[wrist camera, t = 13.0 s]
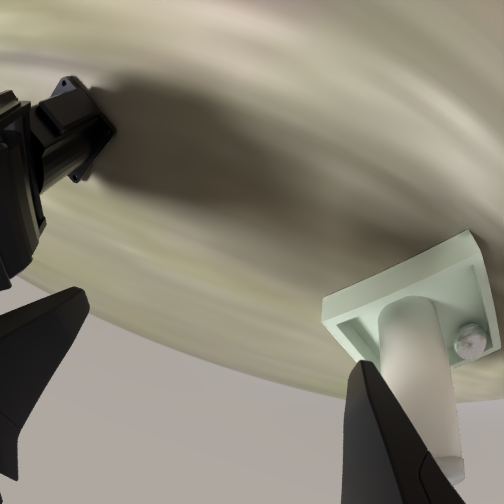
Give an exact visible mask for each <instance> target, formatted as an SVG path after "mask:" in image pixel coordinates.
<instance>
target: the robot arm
mask: <svg viewBox="0 0 504 504" xmlns="http://www.w3.org/2000/svg"><path fill="white" fill-rule="evenodd" d="M65 81H66V83H67V84H65ZM108 130H109V131H110V134H109V133H108ZM115 135H116V129H115V127H114V126H113V125H112V123H111V122H110V121H109V120H108V119H107V118H106V117H105V116H104V115H103V113H102V112H101V111H100V110H99V108H98V107H97V106H96V105H95V104H94V103H93V102H92V100H91V99H90V98H89V97H88V96H87V95H86V94H85V93H84V91H83V90H82V89H81V88H80V87H79V86H78V85H77V84H76V83H75V82H74V81H73V79H72V78H71V77H69V76H66V77H63V78H61V80H60V81H59V83H58V85H57V86H56V88H55V90H54V91H53V93H52V95H51V97H50V98H48V99H45V100H43V101H40V102H39V104H36V105H34V106H32V107H31V101H18V98H16V96H15V95H14V93H13V91H12V90H6V91H4V92H1V93H0V291H2V290H6V289H9V288H11V286H12V285H11V282H10V279H12V278H13V277H15V276H16V275H18V274H19V273H20V272H22V271H23V270H24V269H25V268H26V267H27V266H28V265H29V264H30V263H31V262H32V260H33V258H32V255H33V253H34V251H35V249H36V247H37V245H38V243H39V237H40V236H41V234H42V232H43V230H44V228H45V226H46V224H47V223H46V219H45V217H44V215H43V210H42V205H41V200H40V195H41V194H42V193H43V192H45V191H46V190H47V189H49V188H50V187H51V186H53V185H54V184H55V183H57V182H58V181H60V180H61V179H62V178H64V177H65V176H68V177H69V178H70V179H71V180H72V181H73V182H74V183H78V182H79V181H81V180H82V178H83V177H84V176H85V174H86V173H87V172H88V170H89V169H90V167H91V166H92V165H93V163H94V162H95V161H96V159H97V158H98V157H99V156H100V154H101V153H102V152H103V150H104V149H105V148H106V147H107V145H108V144H109V143H110V142H111V140H112V139H113V138H114V137H115ZM76 176H77V177H76ZM89 309H90V305H89V302H88V299H87V296H86V294H85V291H84V290H83V289H81V288H78V287H71V288H68V289H65V290H63V291H60V292H58V293H55V294H53V295H50V296H47V297H45V298H42V299H40V300H37V301H35V302H32V303H30V304H27V305H25V306H22V307H20V308H17V309H15V310H12V311H10V312H7V313H5V314H2V315H0V473H1V474H3V475H5V476H7V477H9V478H11V479H13V480H15V481H18V457H17V456H18V453H17V452H18V449H17V443H18V437H19V434H20V431H21V429H22V428H23V426H24V424H25V422H26V420H27V418H28V417H29V415H30V413H31V411H32V410H33V408H34V406H35V404H36V402H37V401H38V399H39V397H40V395H41V394H42V392H43V390H44V389H45V387H46V386H47V384H48V382H49V381H50V379H51V377H52V376H53V374H54V372H55V371H56V369H57V368H58V366H59V364H60V363H61V361H62V360H63V358H64V357H65V355H66V353H67V352H68V350H69V349H70V347H71V345H72V344H73V342H74V340H75V338H76V336H77V334H78V332H79V330H80V328H81V326H82V324H83V323H84V321H85V319H86V317H87V315H88V313H89ZM343 427H344V428H343V429H344V430H343V433H344V436H343V438H344V439H343V474H342V495H341V504H466V503H465V502H464V501H463V500H462V498H461V497H460V495H459V494H458V493H457V491H456V490H455V489H454V487H453V486H452V485H451V483H450V482H449V480H448V479H447V477H446V476H445V475H444V473H443V472H442V470H441V469H440V467H439V465H438V464H437V462H436V461H435V459H434V457H433V456H432V454H431V453H430V451H428V448H427V447H426V445H425V443H424V442H423V440H422V438H421V437H420V435H419V434H418V432H417V430H416V429H415V427H414V426H413V424H412V422H411V421H410V419H409V418H408V416H407V414H406V413H405V411H404V410H403V408H402V406H401V405H400V403H399V402H398V400H397V399H396V397H395V395H394V394H393V392H392V391H391V389H390V388H389V386H388V385H387V383H386V381H385V380H384V378H383V377H382V375H381V374H380V372H379V371H378V369H377V368H376V366H375V365H374V363H373V362H372V361H368V360H359V361H358V363H357V364H356V366H355V367H354V369H353V370H352V372H351V373H350V375H349V379H348V387H347V396H346V405H345V413H344V426H343ZM2 502H3V500H2V497H1V494H0V504H2Z"/></svg>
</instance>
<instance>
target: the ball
mask: <svg viewBox="0 0 504 504" xmlns="http://www.w3.org/2000/svg"><path fill="white" fill-rule="evenodd" d="M486 343H487V336H486V333H485V331H484V329H483V328H482V327H481V326H480V325H478V324H475V323H468V324H465V325H463V326H462V327H461V328H460V329H459V330H458V331H457V333H456V335H455V338H454V349H455V351H456V353H457V354H458V356H460V357H461V358H463V359H466V360H471V359H475V358H477V357H478V356H480V355H481V354H482V352H483V351H484V349H485V347H486Z"/></svg>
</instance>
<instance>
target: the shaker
mask: <svg viewBox="0 0 504 504" xmlns="http://www.w3.org/2000/svg"><path fill="white" fill-rule="evenodd" d="M377 322H378V334H379V348H380V365H381V375H382V377H383V378H384V380H385V381H386V383H387V385H388V386H389V388H390V389H391V391H392V392H393V394H394V395H395V397H396V399H397V400H398V402H399V403H400V405H401V406H402V408H403V410H404V411H405V413H406V414H407V416H408V418H409V419H410V421H411V422H412V424H413V426H414V427H415V429H416V430H417V432H418V434H419V435H420V437H421V438H422V440H423V442H424V443H425V445H426V447H427V448H428V451H430V453H431V454H432V456H433V457H434V459H435V461H436V462H437V464H438V465H439V467H440V469H441V470H442V472H443V473H444V475H445V476H446V477H447V479H448V480H449V482H450V483H451V485H452V486H454V485H456V484H458V483H460V482H461V481H463V480H464V479H465V472H464V459H463V458H462V451H461V439H460V429H459V421H458V414H457V406H456V399H455V393H454V387H453V381H452V375H451V370H450V365H449V360H448V355H447V351H446V346H445V342H444V337H443V333H442V329H441V325H440V321H439V317H438V314H437V310H436V307H435V305H434V303H433V302H432V301H431V300H429V299H428V298H426V297H423V296H417V295H411V296H406V297H403V298H401V299H399V300H396V301H394V302H392V303H389V304H387V305H386V306H385V307H384V308H383V309H382V310H381V312H380V314H379V316H378V321H377Z"/></svg>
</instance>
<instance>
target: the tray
mask: <svg viewBox="0 0 504 504" xmlns="http://www.w3.org/2000/svg"><path fill="white" fill-rule="evenodd" d="M411 295H417V296H423V297H426V298H428V299H429V300H431V301H432V302H433V303H434V305H435V307H436V310H437V314H438V317H439V321H440V325H441V329H442V333H443V337H444V342H445V346H446V351H447V355H448V360H449V365H450V370H452V369H455V368H457V367H460V366H462V365H465V364H467V363H469V362H472V361H474V360H476V359H479V358H481V357H483V356H486V355H488V354H490V353H492V352H494V351H496V350H499V349H501V342H500V336H499V329H498V323H497V318H496V312H495V307H494V302H493V298H492V293H491V289H490V284H489V280H488V276H487V272H486V268H485V265H484V261H483V257H482V254H481V251H480V249H479V247H478V245H477V243H476V242H475V240H474V238H473V236H472V235H471V233H470V231H469V229H467V230H466V231H464V232H462V233H460V234H458V235H456V236H454V237H452V238H450V239H448V240H446V241H444V242H442V243H440V244H438V245H436V246H434V247H432V248H430V249H428V250H426V251H424V252H422V253H420V254H418V255H416V256H414V257H412V258H410V259H408V260H406V261H404V262H402V263H400V264H397V265H395V266H393V267H391V268H389V269H387V270H385V271H382V272H380V273H378V274H376V275H374V276H372V277H369V278H367V279H365V280H363V281H360V282H358V283H356V284H354V285H351V286H349V287H347V288H345V289H342V290H340V291H338V292H335V293H333V294H331V295H328V296H326V297H324V298H323V303H322V317H321V323H322V324H323V325H324V326H325V327H326V328H327V329H328V331H329V332H330V333H331V334H332V335H333V336H334V337H335V338H336V340H337V341H338V342H339V343H340V344H341V345H342V346H343V347H344V349H345V350H346V351H347V352H348V353H349V354H350V355H351V357H352V358H353V359H354V360H355V361H356V362H357V363H358V361H359V360H368V361H372V362H373V363H374V365H375V366H376V368H377V369H378V371H379V372H380V374H381V365H380V348H379V334H378V322H377V321H378V316H379V314H380V312H381V310H382V309H383V308H384V307H385V306H386V305H387V304H389V303H392V302H394V301H396V300H399V299H401V298H403V297H406V296H411ZM468 323H475V324H478V325H480V326H481V327H482V328H483V329H484V331H485V333H486V336H487V343H486V347H485V349H484V351H483V352H482V354H481V355H480V356H478V357H477V358H475V359H471V360H466V359H463V358H461V357H460V356H458V354H457V353H456V351H455V349H454V338H455V335H456V333H457V331H458V330H459V329H460V328H461V327H462V326H463V325H465V324H468Z"/></svg>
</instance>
